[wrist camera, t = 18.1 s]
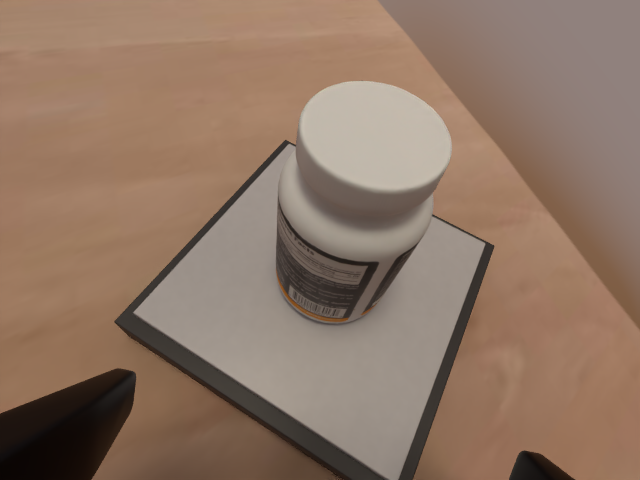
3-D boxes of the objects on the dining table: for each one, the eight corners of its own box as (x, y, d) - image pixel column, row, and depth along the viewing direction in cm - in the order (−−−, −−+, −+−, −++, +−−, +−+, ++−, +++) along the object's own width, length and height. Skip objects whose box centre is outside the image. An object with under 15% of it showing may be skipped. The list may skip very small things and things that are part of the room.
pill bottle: (347, 216, 22) (398, 54, 13) (404, 298, 19) (510, 166, 11) (256, 252, 20) (249, 89, 11) (307, 349, 17) (346, 235, 9)
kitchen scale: (481, 255, 24) (502, 234, 22) (387, 509, 17) (406, 514, 14) (287, 156, 27) (289, 128, 25) (126, 334, 19) (109, 317, 17)
